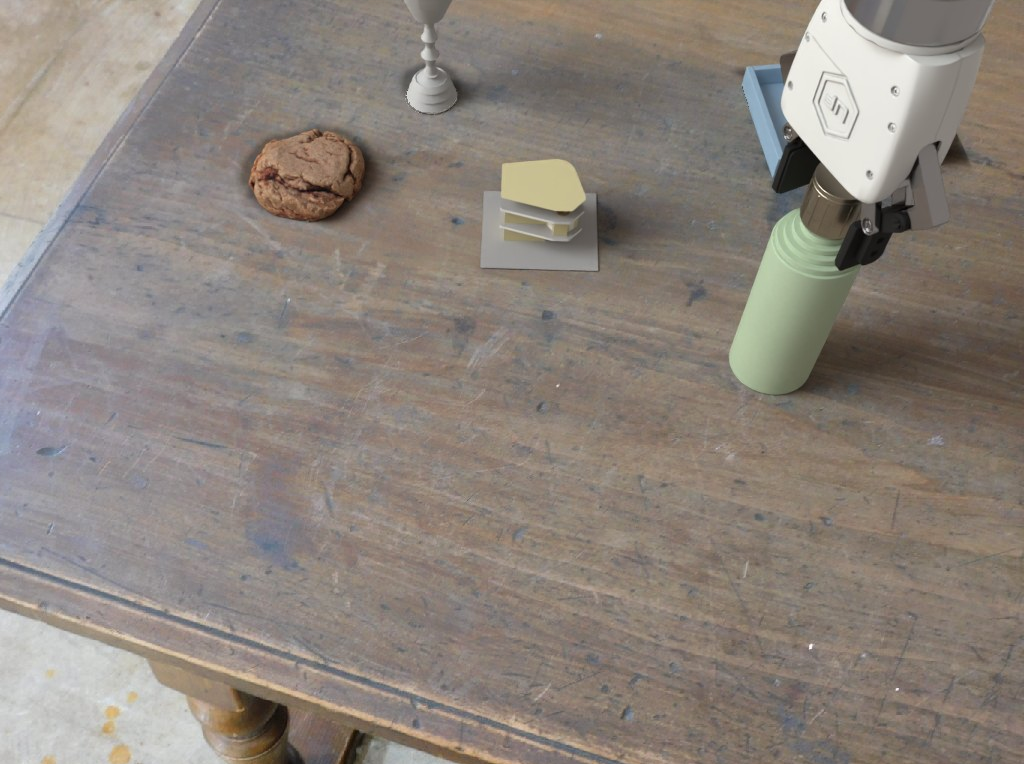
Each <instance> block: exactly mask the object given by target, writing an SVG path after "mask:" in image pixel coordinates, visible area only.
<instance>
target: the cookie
mask: <svg viewBox="0 0 1024 764" xmlns="http://www.w3.org/2000/svg"><path fill="white" fill-rule="evenodd" d="M365 162H366V161H365V158H364V157H363V153H362V150H361V149H360V147H359V146H357V145H356V144H355V142H353V141H352V140H351V139H349V138H347V137H345V136H343V135H342V134H340V133H337V132H333V131H328V130H325V131H324V132H322V131H320V130H318V129H317V128H313V129H311V130H306V131H303V132H301V133H300V134H297V135H294V136H290V137H288V138H281V140H279V139H277V138H274V139H272V140H271V141H268V142H267V143H266V144H265V145H264V147H263V149H262V151H261V153H260V154H258V155H257V156H256V158H255V160H254V162H253V166H252V168H251V170H250V171H251V172H250V173H251V174H250V176H249V179H248V186H249V188H250V189H251V190H252V191H253V194H254V196H255V198H256V200H257V202H258V204H259V205H260V206H262V208H263V209H264V210H266V212H268V213H270V214H272V215H274V216H275V217H277V216H280V217H282V218H288V219H291V220H300V221H303V220H305V221H306V222H316V221H317V220H321V219H325V218H326V217H330V216H332V215H333V214H334V213H336V211H337V210H338V209H339V208H340V207H341V206H342V204H343V203H344V201H346V200H347V201H349V202H351V201H352V199H353V198H354V197H355V196H356V195H357V194H359V192H360V191H361V189H362V183H363V179H364V177H365V172H366V166H365V165H366V163H365Z"/></svg>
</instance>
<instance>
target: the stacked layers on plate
mask: <svg viewBox="0 0 1024 764" xmlns="http://www.w3.org/2000/svg"><path fill="white" fill-rule="evenodd" d="M482 198H483V199H482V201H483V202H482V218H481V219H482V221H481V241H480V242H481V243H480V261H479V263H480V264H479V266H480V267H479V268H480V269H506V270H507V269H511V270H512V269H513V270H515V269H516V270H547V271H548V270H549V271H584V272H598V271H599V248H598V247H599V246H598V212H597V211H598V210H597V193H595V192H593V193H592V192H585V189H584V188H583V186H582V183H581V181H580V177H579V175H578V172H577V170H576V168H575V166H574V165H573V164H572V163H570V162H568V161H567V160H564V159H558V158H550V159H540V160H539V159H538V160H528V161H517V162H505V163H501V184H500V190H483V197H482Z"/></svg>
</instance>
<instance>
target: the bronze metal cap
mask: <svg viewBox="0 0 1024 764" xmlns="http://www.w3.org/2000/svg"><path fill="white" fill-rule="evenodd" d="M799 208H800V218H801V221H802V223H803V225H804V226H805V227H806V228H807V229H808V230H809V231H810V232H812V233H813V234H815V235H817V236H820V237H823V238H828V239H841V238H845V236H846V234H847V231H848V229H849V227H850V225H851V224H852V223H853V222H855V221H858V220H860V219H861V201H859V200H858V199H856V198H855V197H853V196H852V195H851V194H850V193H849V192H848V191H847V190H846V189H845V188H844V187H843V186H842V185H841V184H840V183H839V181H838V180H837V179H836V178H835V177H834V176H833V175H832V174H831V172H830V171H829V170H828V169H827V168H826V167H825V166H824V164H823V163H822V162H821V163H819V164H818V166H817V167H816V169H815V172H814V174H813V177H812V179H811V181H810V183H809V184H808V185H807V188H806V191H805V194H804V196H803V199H802V202H801V205H800V207H799Z"/></svg>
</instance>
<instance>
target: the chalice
mask: <svg viewBox="0 0 1024 764" xmlns="http://www.w3.org/2000/svg"><path fill="white" fill-rule="evenodd" d="M403 2H404V4H405V5H406V7H407V8H408V10H409V12H410V13H411V15H412V17H413V18H414V20H415V21H416V22H418V23H419V24H422V25H423V26H424V28H423V33H421V35H420V39H421V40H422V42H423V43H424V49H423V50H421V52H420V57H421V58H422V59H423V60H424V62H425V67H423V68H421V69H419V70H418V71H417V72H416V73H414V75H413V77H412V79H411V82H410V83H409V85H408V89H407V90H408V91H407V90H406V92H407V95H406V94H405V96H407V99H408V103H409V102H410V105H411V106H412V107H414V108H415V109H416V110H419V111H421V112H431V113H433V112H440V111H443V110H444V109H448V108H449V106H450V107H451V106H452V105H453V103H454V102H455V100H456V97H457V93H458V91H457V92H456V90H457V88H456V87H455V85H454V82H453V81H452V79H451V77H450V75H449V73H447V71H445V70H444V69H443V68H441V67H437V66H436V61H437V59H439V57H440V54H441V53H440V51H439V49H437V48H436V46H435V45H436V42H437V41H438V39H439V34H438V32H436V28H435V24H437V23H439V22H440V21H442V20H443V18H444V17H445V15H446V13H447V10H449V7H450V6H451V3H452V2H453V0H403Z"/></svg>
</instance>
